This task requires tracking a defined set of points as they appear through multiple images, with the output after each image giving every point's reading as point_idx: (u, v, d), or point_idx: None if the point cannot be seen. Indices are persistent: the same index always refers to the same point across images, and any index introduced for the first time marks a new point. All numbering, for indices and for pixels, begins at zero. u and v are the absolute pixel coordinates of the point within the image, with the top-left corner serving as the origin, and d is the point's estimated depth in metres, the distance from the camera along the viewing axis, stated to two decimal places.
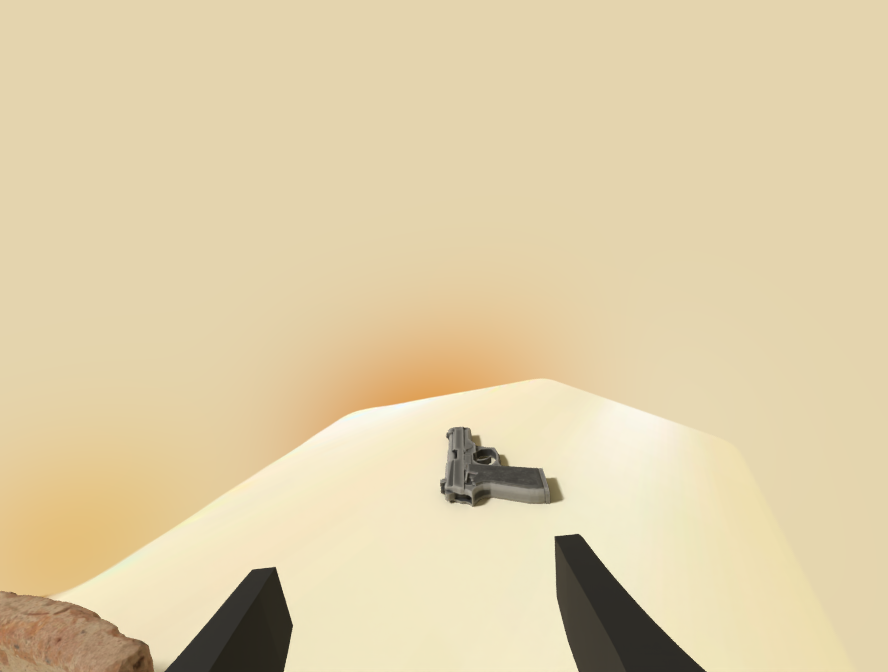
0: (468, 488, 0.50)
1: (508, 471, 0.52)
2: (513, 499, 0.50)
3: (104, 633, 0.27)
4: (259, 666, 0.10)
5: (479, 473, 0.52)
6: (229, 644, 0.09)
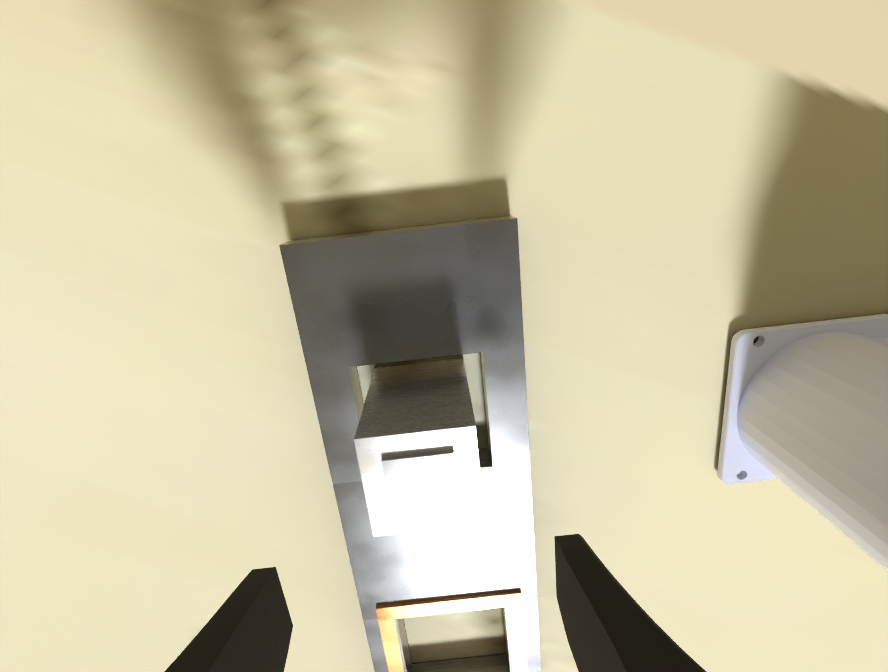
0: None
1: None
2: None
3: None
4: (259, 666, 0.10)
5: None
6: (229, 644, 0.09)
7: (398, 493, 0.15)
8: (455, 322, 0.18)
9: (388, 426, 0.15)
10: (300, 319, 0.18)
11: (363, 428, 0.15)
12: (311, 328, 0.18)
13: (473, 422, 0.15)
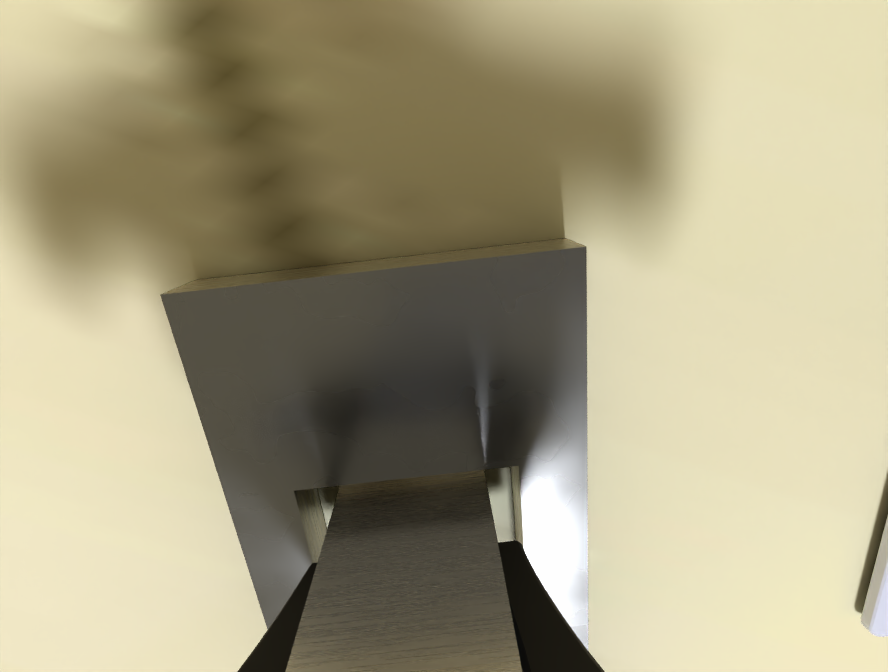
0: None
1: None
2: None
3: None
4: None
5: None
6: None
7: None
8: (473, 420, 0.11)
9: (348, 665, 0.08)
10: (207, 417, 0.10)
11: (299, 667, 0.08)
12: (227, 431, 0.11)
13: (518, 668, 0.07)
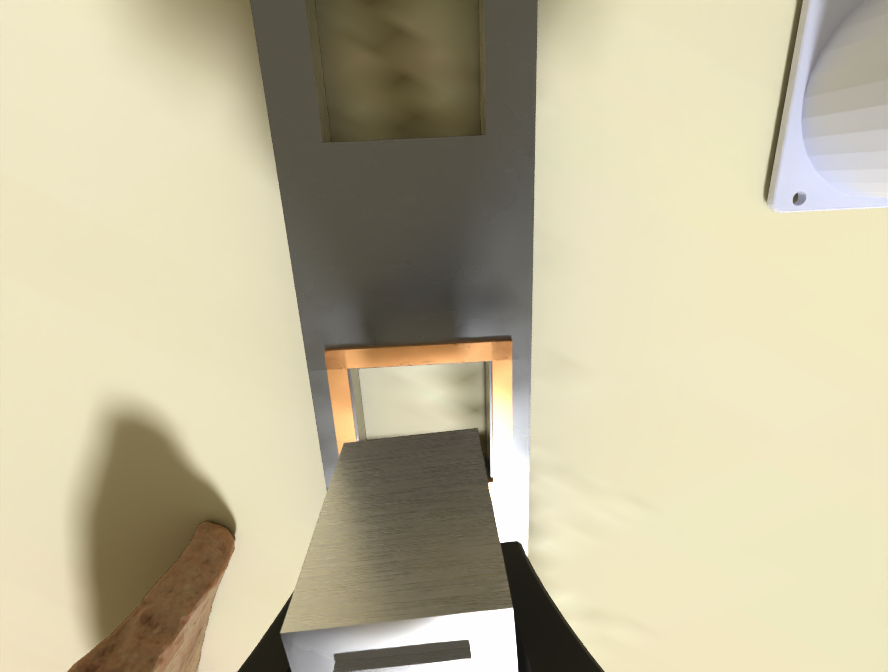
0: None
1: None
2: None
3: None
4: None
5: None
6: None
7: None
8: None
9: (348, 596, 0.08)
10: None
11: (303, 599, 0.08)
12: None
13: (507, 596, 0.08)
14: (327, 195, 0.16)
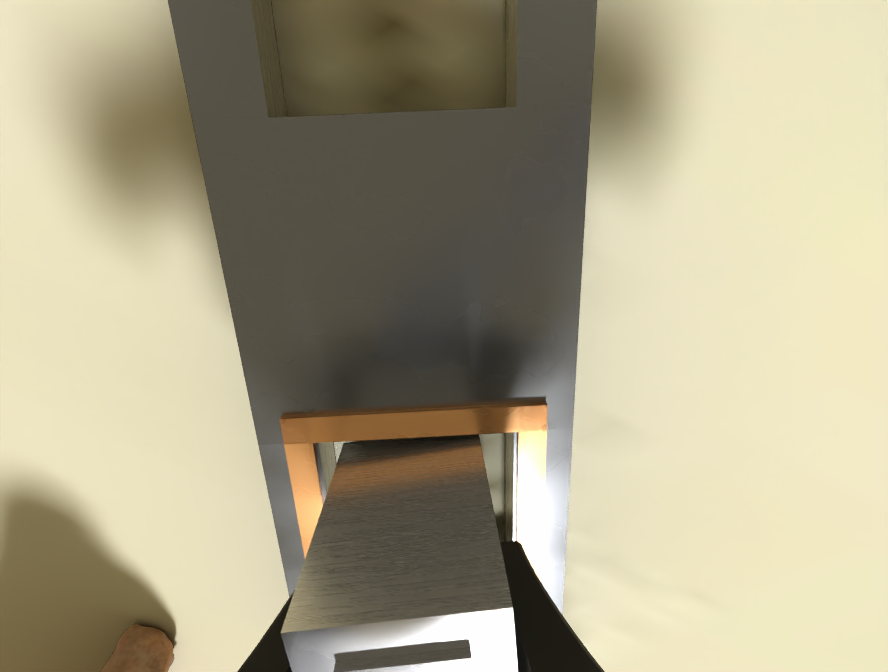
0: None
1: None
2: None
3: None
4: None
5: None
6: None
7: None
8: None
9: (349, 596, 0.08)
10: None
11: (303, 599, 0.08)
12: None
13: (507, 596, 0.08)
14: (278, 197, 0.11)
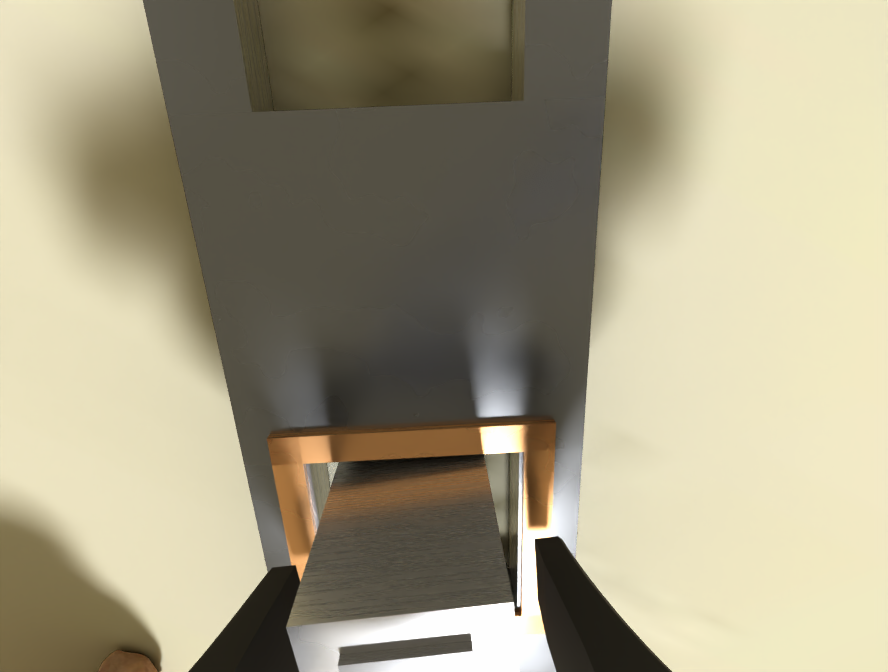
0: None
1: None
2: None
3: None
4: (281, 664, 0.10)
5: None
6: (254, 641, 0.09)
7: None
8: None
9: (352, 591, 0.08)
10: None
11: (308, 594, 0.08)
12: None
13: (508, 591, 0.08)
14: (263, 200, 0.10)
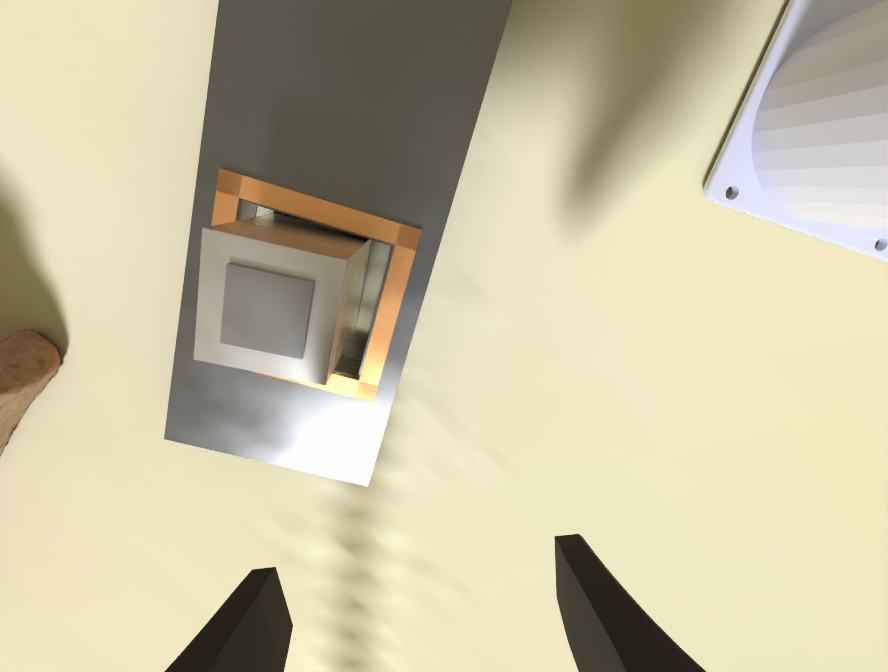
0: None
1: None
2: None
3: None
4: (259, 666, 0.10)
5: None
6: (229, 644, 0.09)
7: (235, 311, 0.13)
8: None
9: (250, 234, 0.13)
10: None
11: (220, 227, 0.13)
12: None
13: (346, 258, 0.13)
14: None
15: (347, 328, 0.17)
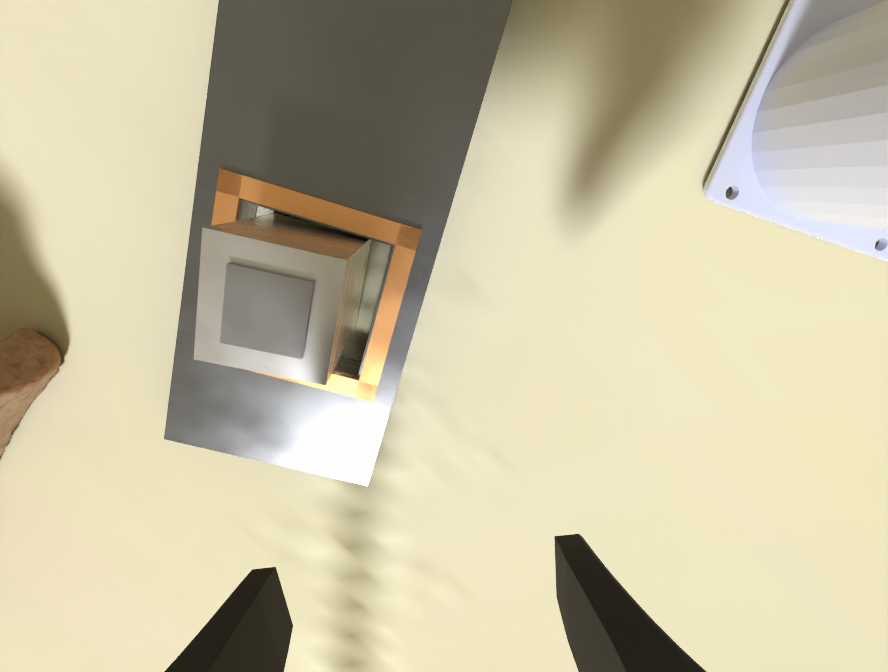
0: None
1: None
2: None
3: None
4: (259, 666, 0.10)
5: None
6: (229, 644, 0.09)
7: (235, 311, 0.13)
8: None
9: (250, 234, 0.13)
10: None
11: (220, 227, 0.13)
12: None
13: (346, 258, 0.13)
14: None
15: (347, 328, 0.17)
